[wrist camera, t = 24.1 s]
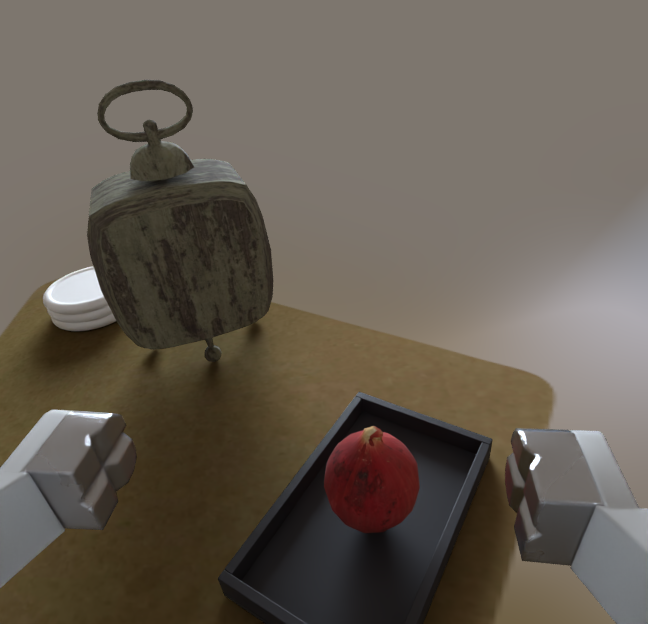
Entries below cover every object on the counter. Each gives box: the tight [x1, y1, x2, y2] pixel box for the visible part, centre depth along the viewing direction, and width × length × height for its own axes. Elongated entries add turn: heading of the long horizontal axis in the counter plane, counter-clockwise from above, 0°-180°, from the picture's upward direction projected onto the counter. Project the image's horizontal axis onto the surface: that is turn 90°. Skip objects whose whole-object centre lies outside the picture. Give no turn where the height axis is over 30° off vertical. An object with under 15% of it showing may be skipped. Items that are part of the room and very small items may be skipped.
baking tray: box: [218, 392, 492, 624], centre depth 31 cm, size 17×11×2 cm, turn 148°
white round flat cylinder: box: [43, 266, 116, 331], centre depth 57 cm, size 10×10×4 cm
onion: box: [324, 426, 420, 533], centre depth 29 cm, size 6×6×8 cm
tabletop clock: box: [87, 80, 273, 362], centre depth 42 cm, size 14×9×25 cm, turn 111°
